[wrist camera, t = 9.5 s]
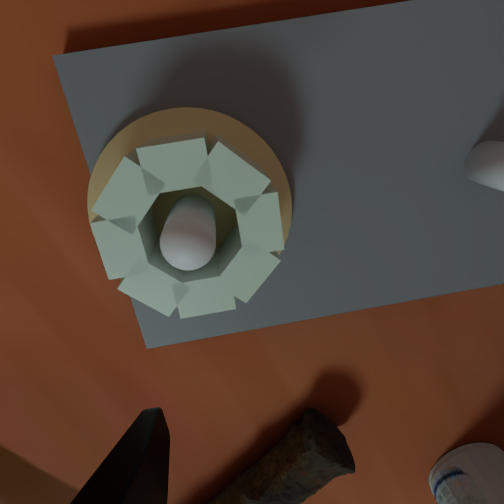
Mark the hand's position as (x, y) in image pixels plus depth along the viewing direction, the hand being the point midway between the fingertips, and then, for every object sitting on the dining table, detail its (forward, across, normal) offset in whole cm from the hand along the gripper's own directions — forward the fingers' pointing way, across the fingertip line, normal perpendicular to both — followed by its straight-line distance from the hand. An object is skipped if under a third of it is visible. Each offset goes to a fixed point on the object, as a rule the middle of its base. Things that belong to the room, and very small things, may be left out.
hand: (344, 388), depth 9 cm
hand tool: (+11, +5, +19) cm, 23 cm away
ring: (+9, +4, -2) cm, 10 cm away
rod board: (+11, -3, -2) cm, 11 cm away
